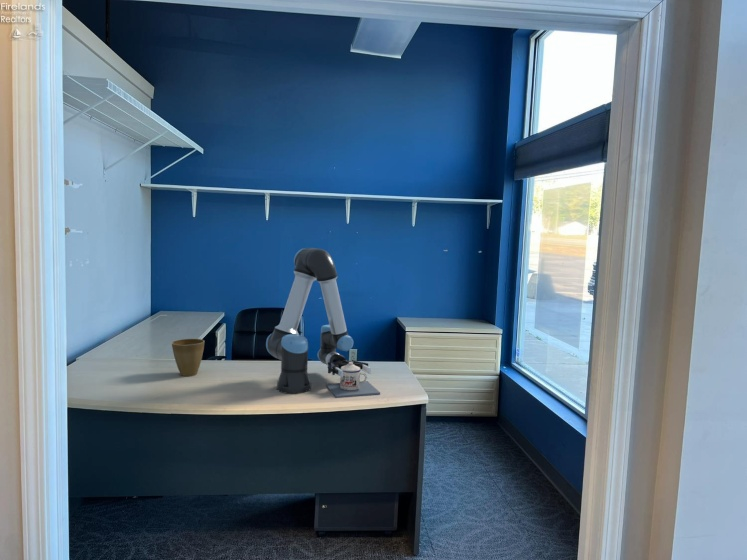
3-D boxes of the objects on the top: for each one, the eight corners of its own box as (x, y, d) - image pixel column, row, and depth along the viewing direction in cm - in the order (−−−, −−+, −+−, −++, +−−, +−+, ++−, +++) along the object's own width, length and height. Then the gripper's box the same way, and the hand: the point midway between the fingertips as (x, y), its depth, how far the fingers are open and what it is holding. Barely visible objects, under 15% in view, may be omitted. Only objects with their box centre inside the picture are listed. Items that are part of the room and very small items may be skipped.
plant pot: (205, 369, 263) (205, 337, 261) (203, 377, 248) (203, 344, 247) (173, 370, 259) (173, 338, 258) (169, 379, 245) (169, 345, 243)
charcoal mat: (336, 397, 225) (336, 395, 225) (326, 385, 242) (326, 383, 242) (380, 394, 231) (380, 392, 231) (367, 382, 248) (367, 381, 248)
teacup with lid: (337, 390, 233) (338, 364, 232) (341, 384, 242) (342, 359, 241) (364, 392, 231) (365, 366, 230) (367, 386, 240) (368, 361, 239)
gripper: (359, 366, 258) (380, 377, 239) (311, 371, 246) (330, 384, 227) (359, 351, 257) (381, 361, 239) (312, 355, 245) (330, 366, 227)
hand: (356, 372), depth 233 cm, fingers open, 13 cm apart
